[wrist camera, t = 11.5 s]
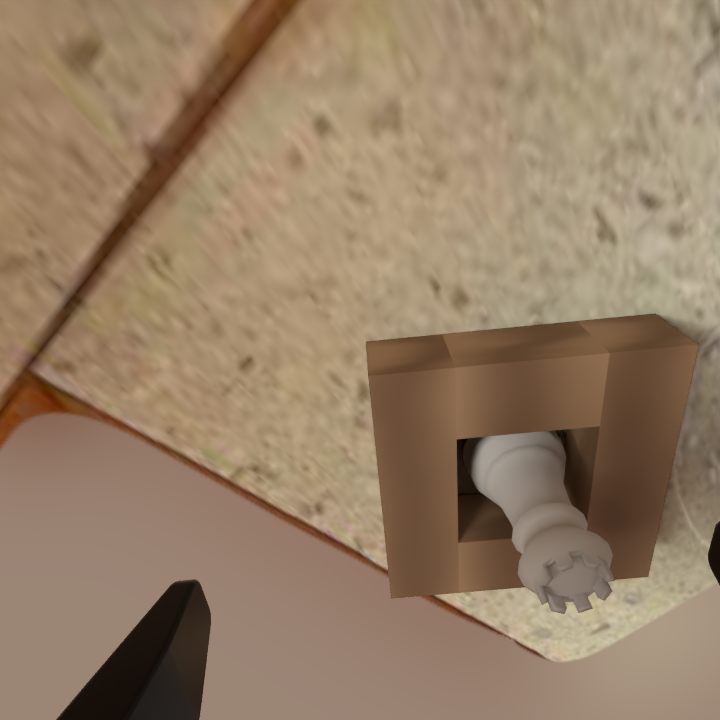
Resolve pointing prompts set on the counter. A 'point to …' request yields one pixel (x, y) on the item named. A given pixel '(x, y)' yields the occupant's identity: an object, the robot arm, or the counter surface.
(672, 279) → the counter surface
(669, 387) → the walnut socket
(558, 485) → the rook chess piece
